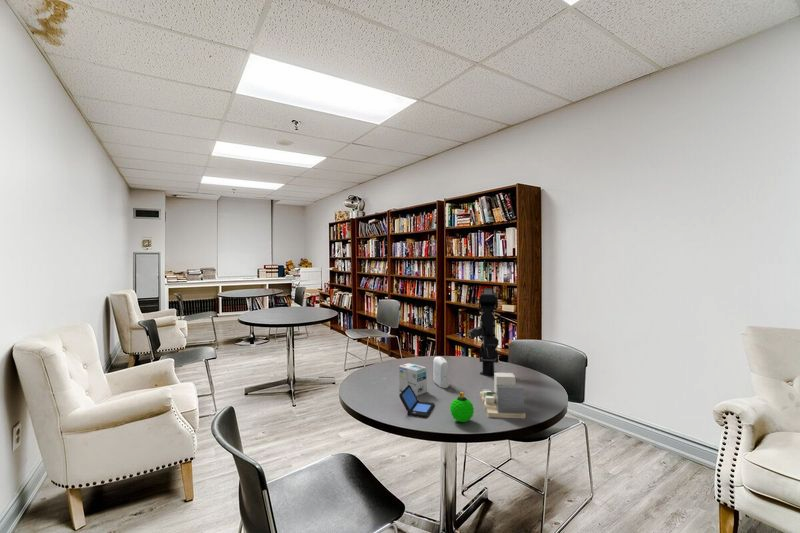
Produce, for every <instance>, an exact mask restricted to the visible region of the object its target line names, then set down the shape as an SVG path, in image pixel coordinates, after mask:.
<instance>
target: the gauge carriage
mask: <svg viewBox="0 0 800 533" xmlns="http://www.w3.org/2000/svg"><path fill="white" fill-rule="evenodd" d="M493 384H494V385H493V386H494V388H493V390H494V391H491V392H487V394H494V398H495V401H496V385H516V376H515V374H514V373H513V372H497V373H494V375H493Z"/></svg>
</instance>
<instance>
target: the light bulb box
mask: <svg viewBox="0 0 800 533" xmlns="http://www.w3.org/2000/svg"><path fill="white" fill-rule="evenodd" d="M427 372H428V370H427V367H425V366H423V365H418V364H413V363H410V362H409V363H405V364H401V365H398V373H399V374H398V379H399V380H398V381H399V382H398V383H399V384H398V385H399V386H398V388H399V389H398V391H401V392H402V391H403V390H404V389H405V388H406V387H407V386H408V385H410V386H411V388H412V390H413V391H414V394H415V396H416V397H418V396H420V395H423V394H425V393H427V392H428V376H427V375H428V373H427Z"/></svg>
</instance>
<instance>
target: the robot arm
mask: <svg viewBox="0 0 800 533" xmlns="http://www.w3.org/2000/svg"><path fill="white" fill-rule="evenodd" d="M498 308H499V299H498V295H497V293H496V292H495V291H494V289H493V288H490V287H489V288H486V287H484V288H482V292H481V293H479V296H478V310H481V311H480V312H481V313H480V314H481V315H480V323H479V326H477V327H473V328H471V329H468V333H469V337H470V339H471V340H472V339H475V338H478V339H479V340H480V341H481V342H482V343H481V345H480V349H479V363H482V364H481V365H482V367H481V368H482V371H481V372H479V375H484V376H489V377H494V373H498V372H497V371H495V363H496V364H498V363H499V352H498V350H496V349H497V347H498V346H499V345H500V344H499V342H500V340H499V339H498V338H497V337H496V333H495V328H496V324H495V321H496V320H495V311H497V310H498Z"/></svg>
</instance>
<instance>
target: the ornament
mask: <svg viewBox="0 0 800 533" xmlns="http://www.w3.org/2000/svg"><path fill="white" fill-rule="evenodd" d="M449 407H450V410H449V411H450V414H451V415H450V416H452V418H453V419H454V420H455V421H457V422H459V423H465V422H468V421H470V420H471V419H472V417H473V416H474V413H475V408H474V404H473V403H472V401H471V400H469V399H468V398H467V397H465V392H463V391H460V392H459V396H457V397H456V398H455V399H453V400H452V402H451V403H450V406H449Z"/></svg>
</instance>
